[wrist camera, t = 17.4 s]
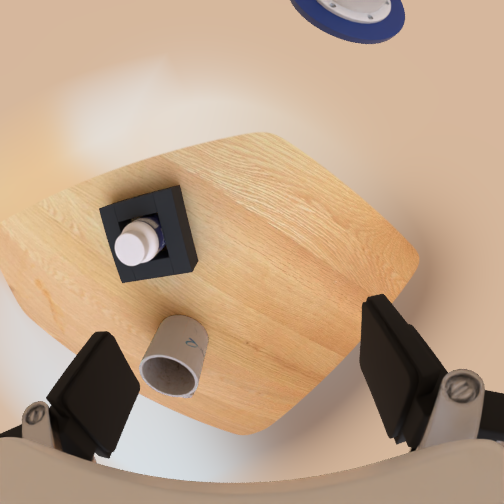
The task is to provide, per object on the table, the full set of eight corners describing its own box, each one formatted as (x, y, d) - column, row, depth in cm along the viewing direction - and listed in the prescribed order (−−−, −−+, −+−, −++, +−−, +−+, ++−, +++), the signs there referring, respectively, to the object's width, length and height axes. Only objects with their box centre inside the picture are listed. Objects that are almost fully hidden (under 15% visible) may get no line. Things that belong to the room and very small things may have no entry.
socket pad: (179, 184, 35) (171, 188, 31) (198, 261, 38) (192, 272, 34) (112, 203, 35) (98, 208, 32) (132, 272, 39) (121, 283, 35)
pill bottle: (167, 252, 38) (145, 278, 29) (135, 241, 37) (107, 263, 29) (176, 218, 36) (153, 236, 28) (142, 207, 36) (113, 221, 27)
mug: (155, 313, 41) (132, 351, 32) (206, 316, 41) (194, 357, 32) (167, 367, 45) (152, 406, 36) (212, 371, 45) (204, 413, 36)
